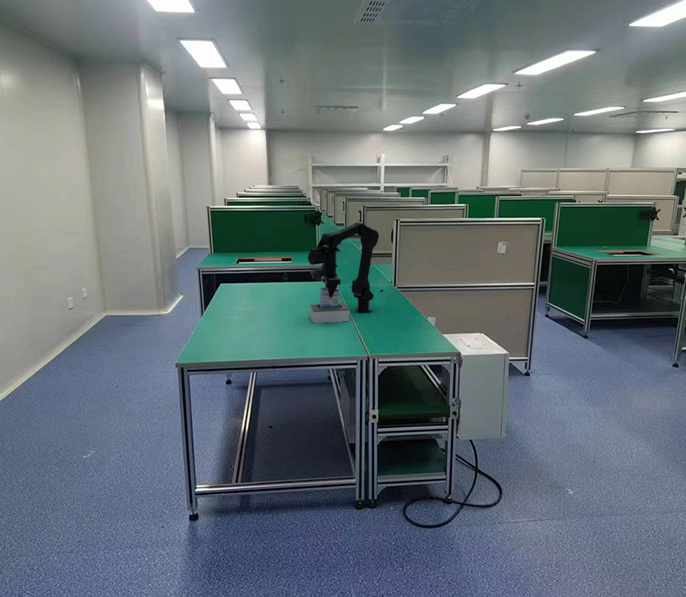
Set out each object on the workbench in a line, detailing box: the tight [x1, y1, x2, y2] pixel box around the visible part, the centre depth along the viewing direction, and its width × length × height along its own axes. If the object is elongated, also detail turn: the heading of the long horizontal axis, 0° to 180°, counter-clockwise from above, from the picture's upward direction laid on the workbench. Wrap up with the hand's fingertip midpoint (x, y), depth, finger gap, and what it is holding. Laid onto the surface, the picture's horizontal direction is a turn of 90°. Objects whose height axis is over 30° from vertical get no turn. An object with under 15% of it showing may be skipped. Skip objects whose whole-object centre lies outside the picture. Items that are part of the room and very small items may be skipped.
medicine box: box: [319, 287, 340, 308], centre depth 217 cm, size 8×4×9 cm, turn 103°
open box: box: [309, 302, 350, 324], centre depth 219 cm, size 10×16×6 cm, turn 103°
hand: (329, 296), depth 217 cm, fingers closed on medicine box, 4 cm apart
